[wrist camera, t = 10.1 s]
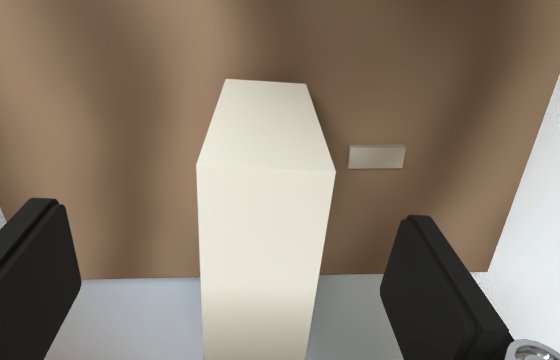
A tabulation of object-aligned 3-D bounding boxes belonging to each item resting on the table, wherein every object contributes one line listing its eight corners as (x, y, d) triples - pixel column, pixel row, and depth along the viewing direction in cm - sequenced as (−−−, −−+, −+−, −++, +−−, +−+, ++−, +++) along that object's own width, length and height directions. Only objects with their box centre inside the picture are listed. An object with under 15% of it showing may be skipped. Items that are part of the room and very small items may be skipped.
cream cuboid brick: (225, 78, 14) (195, 164, 8) (306, 84, 14) (336, 171, 8) (224, 278, 19) (206, 426, 13) (284, 280, 19) (293, 426, 13)
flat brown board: (45, 260, 21) (28, 284, 19) (-66, -29, 14) (-107, -29, 13) (473, 253, 22) (490, 275, 20) (565, -25, 15) (601, -23, 13)
